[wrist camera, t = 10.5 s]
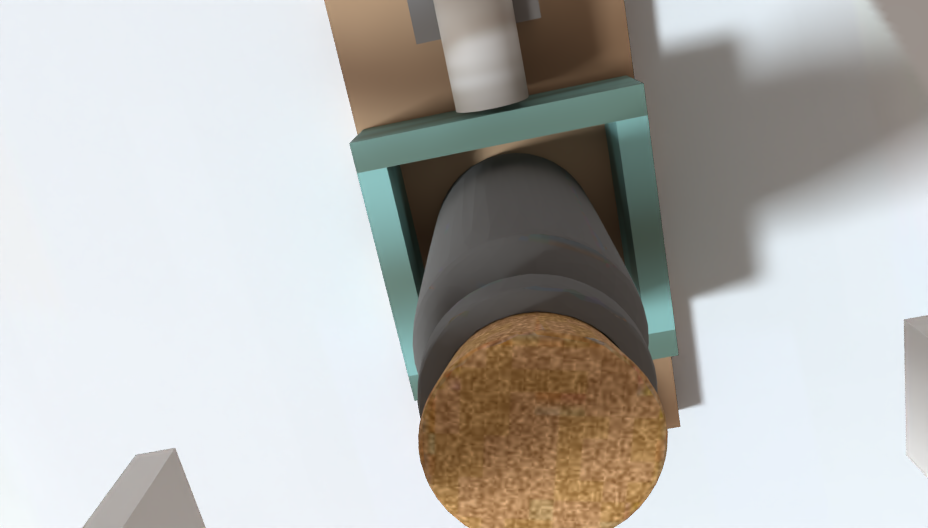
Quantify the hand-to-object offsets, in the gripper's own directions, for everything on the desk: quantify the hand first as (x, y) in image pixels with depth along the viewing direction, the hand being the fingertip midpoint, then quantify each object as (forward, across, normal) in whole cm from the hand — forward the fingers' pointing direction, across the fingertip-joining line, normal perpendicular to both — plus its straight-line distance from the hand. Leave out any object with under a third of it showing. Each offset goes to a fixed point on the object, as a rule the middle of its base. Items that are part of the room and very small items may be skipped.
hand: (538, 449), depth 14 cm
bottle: (+16, 0, -1) cm, 16 cm away
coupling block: (+17, 0, -1) cm, 17 cm away
